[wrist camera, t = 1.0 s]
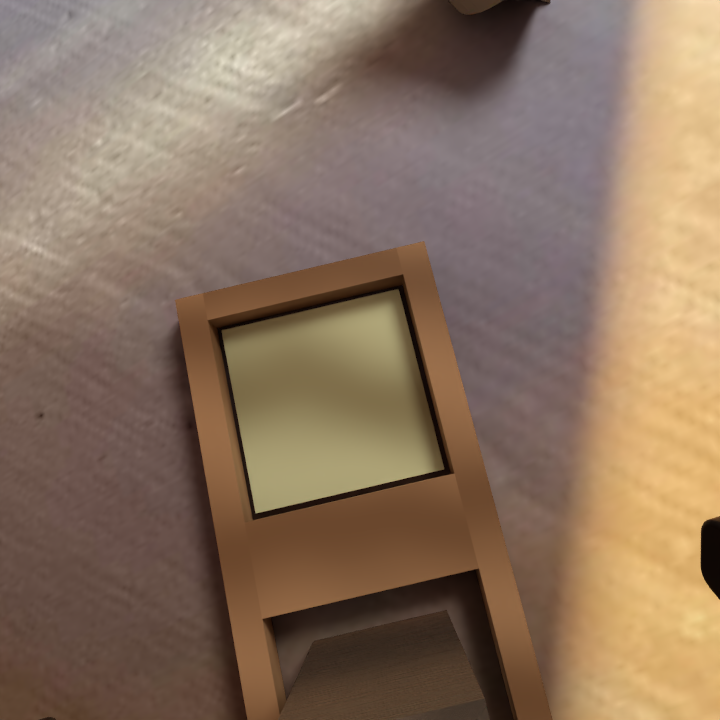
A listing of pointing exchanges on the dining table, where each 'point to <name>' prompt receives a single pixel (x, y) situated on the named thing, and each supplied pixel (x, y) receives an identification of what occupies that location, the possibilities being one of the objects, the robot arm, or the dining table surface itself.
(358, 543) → the wooden double frame
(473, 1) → the yellow and grey cone
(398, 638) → the grey tall block
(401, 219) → the dining table surface
